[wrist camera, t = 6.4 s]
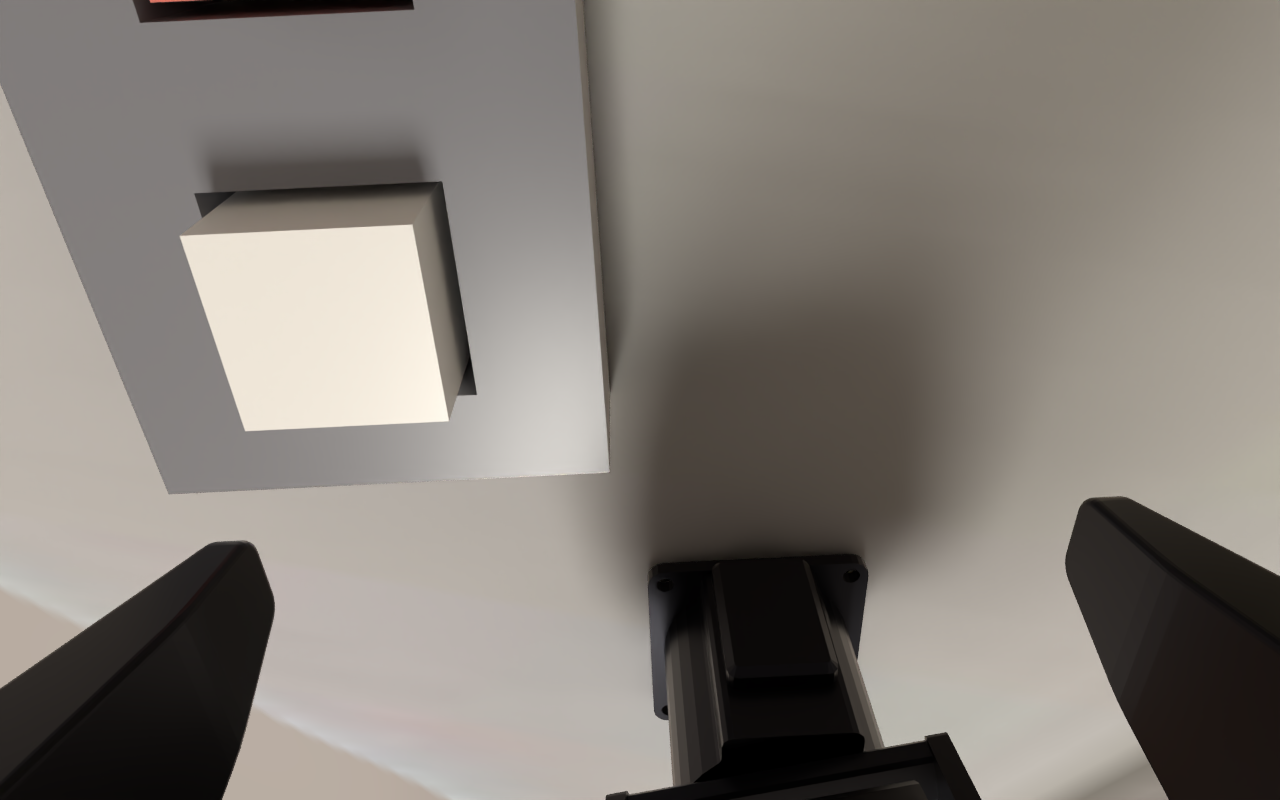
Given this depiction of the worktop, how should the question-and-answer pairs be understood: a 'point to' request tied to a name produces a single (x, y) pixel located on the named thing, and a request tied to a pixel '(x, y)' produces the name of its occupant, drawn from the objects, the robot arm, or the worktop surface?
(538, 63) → the button panel
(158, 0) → the red button
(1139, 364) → the worktop surface
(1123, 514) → the robot arm
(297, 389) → the button
